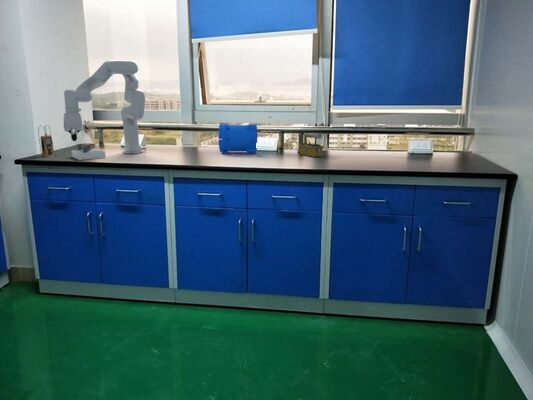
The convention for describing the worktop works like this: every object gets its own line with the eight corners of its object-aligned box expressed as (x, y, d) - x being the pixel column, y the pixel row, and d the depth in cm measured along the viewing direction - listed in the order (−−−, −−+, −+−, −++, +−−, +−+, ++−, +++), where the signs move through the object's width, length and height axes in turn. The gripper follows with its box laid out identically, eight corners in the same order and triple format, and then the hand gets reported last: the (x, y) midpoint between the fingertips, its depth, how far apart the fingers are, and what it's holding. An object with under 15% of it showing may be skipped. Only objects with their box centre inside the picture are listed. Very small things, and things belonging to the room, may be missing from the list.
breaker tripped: (89, 149, 284) (88, 143, 283) (90, 150, 282) (89, 144, 281) (85, 150, 282) (84, 144, 281) (86, 150, 280) (86, 144, 280)
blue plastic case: (218, 154, 300) (217, 125, 295) (222, 149, 321) (222, 122, 316) (255, 154, 299) (255, 125, 294) (257, 150, 320) (257, 122, 315)
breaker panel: (97, 154, 294) (96, 148, 293) (105, 157, 282) (104, 151, 281) (72, 156, 285) (71, 150, 284) (79, 159, 272) (78, 153, 271)
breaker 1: (81, 149, 286) (80, 143, 285) (82, 149, 284) (81, 144, 284) (77, 149, 285) (76, 144, 284) (78, 150, 283) (77, 144, 282)
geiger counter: (313, 157, 286) (314, 134, 283) (290, 152, 307) (291, 130, 304) (324, 156, 291) (325, 133, 287) (301, 151, 312) (301, 130, 308)
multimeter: (52, 158, 279) (48, 126, 274) (38, 157, 281) (34, 125, 276) (67, 155, 293) (64, 124, 288) (53, 154, 295) (50, 124, 290)
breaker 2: (86, 151, 277) (85, 145, 276) (87, 151, 275) (87, 146, 274) (82, 151, 276) (81, 145, 275) (83, 152, 274) (83, 146, 273)
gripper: (83, 110, 279) (85, 139, 283) (57, 110, 270) (60, 140, 274) (86, 110, 273) (88, 140, 277) (60, 110, 265) (63, 141, 269)
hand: (74, 140), depth 276 cm, fingers closed
